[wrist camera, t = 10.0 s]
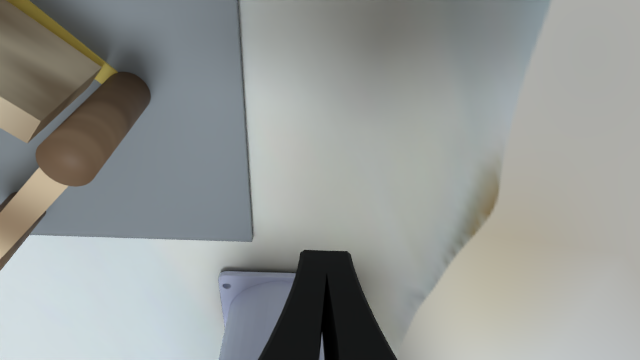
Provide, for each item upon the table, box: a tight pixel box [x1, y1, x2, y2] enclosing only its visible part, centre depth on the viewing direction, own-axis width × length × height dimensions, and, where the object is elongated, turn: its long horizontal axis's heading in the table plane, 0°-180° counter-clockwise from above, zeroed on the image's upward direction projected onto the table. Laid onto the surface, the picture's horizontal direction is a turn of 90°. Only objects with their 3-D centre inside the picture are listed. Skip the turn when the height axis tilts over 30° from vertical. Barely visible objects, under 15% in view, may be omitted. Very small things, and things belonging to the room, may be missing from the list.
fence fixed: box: [0, 72, 151, 270], centre depth 19 cm, size 12×2×6 cm, turn 133°
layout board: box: [0, 0, 253, 242], centre depth 19 cm, size 21×17×1 cm
